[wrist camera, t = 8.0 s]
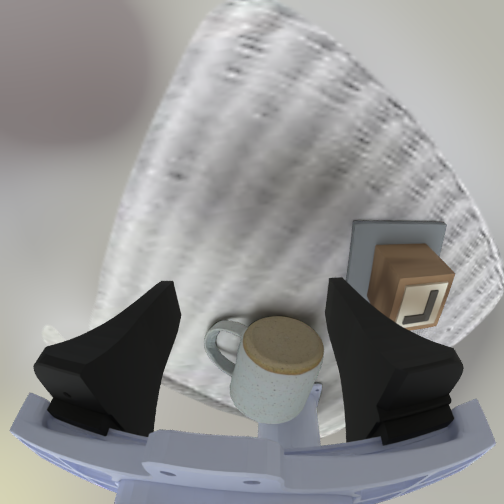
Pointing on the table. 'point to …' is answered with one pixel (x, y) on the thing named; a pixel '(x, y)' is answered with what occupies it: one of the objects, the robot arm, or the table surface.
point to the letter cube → (409, 284)
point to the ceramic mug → (269, 366)
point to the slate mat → (385, 234)
